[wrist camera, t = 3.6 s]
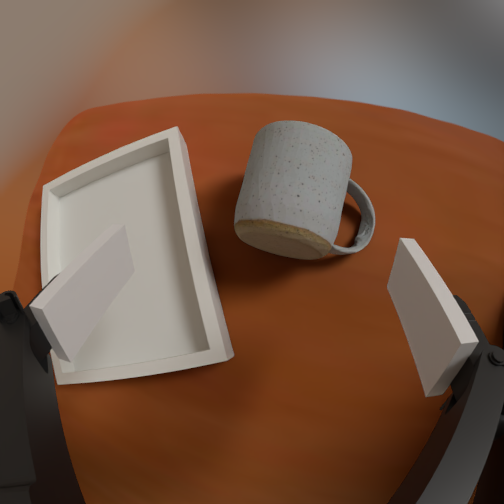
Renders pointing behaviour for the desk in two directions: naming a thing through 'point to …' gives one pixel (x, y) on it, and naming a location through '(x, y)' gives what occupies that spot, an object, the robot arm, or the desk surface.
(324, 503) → the desk surface
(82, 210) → the tray
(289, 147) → the ceramic mug
